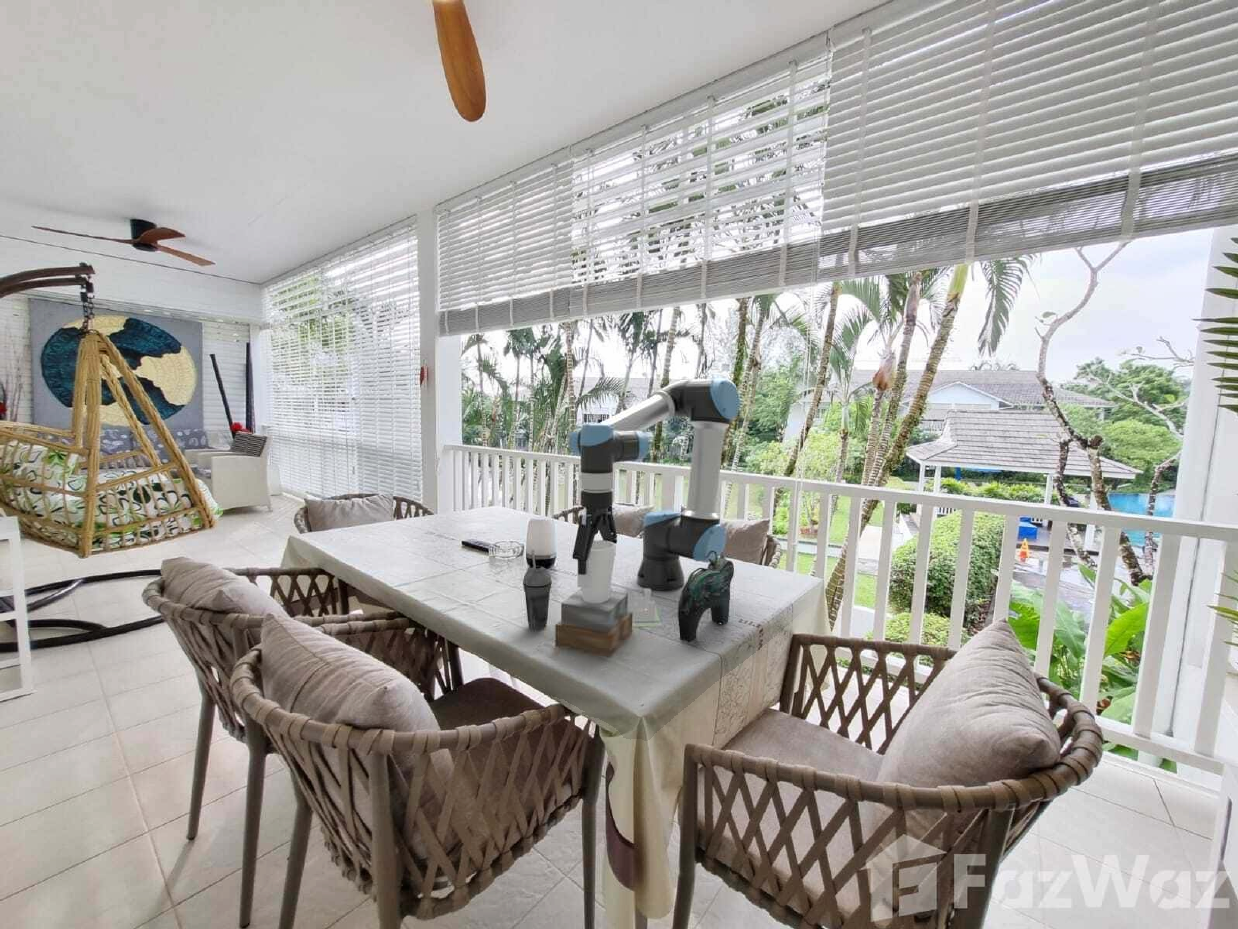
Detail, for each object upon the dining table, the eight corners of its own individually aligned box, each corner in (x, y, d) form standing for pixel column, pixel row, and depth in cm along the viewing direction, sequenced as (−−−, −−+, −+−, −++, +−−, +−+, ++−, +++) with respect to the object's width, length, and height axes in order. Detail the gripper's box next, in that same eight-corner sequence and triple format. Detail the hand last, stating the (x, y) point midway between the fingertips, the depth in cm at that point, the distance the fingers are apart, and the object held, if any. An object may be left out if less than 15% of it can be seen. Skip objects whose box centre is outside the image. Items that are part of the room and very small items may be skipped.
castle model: (653, 605, 142) (654, 580, 141) (661, 628, 127) (662, 600, 127) (601, 605, 141) (601, 580, 141) (603, 628, 126) (603, 600, 126)
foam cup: (568, 600, 117) (568, 546, 116) (588, 588, 125) (588, 538, 124) (603, 608, 113) (603, 552, 111) (622, 595, 121) (622, 543, 119)
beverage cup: (554, 630, 124) (554, 552, 122) (525, 634, 121) (524, 554, 119) (548, 619, 131) (548, 544, 128) (520, 622, 128) (520, 546, 126)
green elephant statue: (717, 614, 135) (720, 542, 133) (738, 621, 131) (741, 547, 128) (672, 638, 121) (674, 558, 119) (694, 647, 116) (697, 564, 114)
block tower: (581, 621, 129) (581, 584, 128) (632, 631, 124) (632, 592, 123) (555, 645, 116) (555, 604, 115) (610, 657, 111) (611, 614, 110)
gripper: (603, 481, 129) (602, 561, 131) (556, 497, 106) (556, 593, 108) (630, 483, 126) (629, 564, 129) (588, 500, 103) (588, 598, 106)
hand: (596, 577), depth 119 cm, fingers open, 13 cm apart
